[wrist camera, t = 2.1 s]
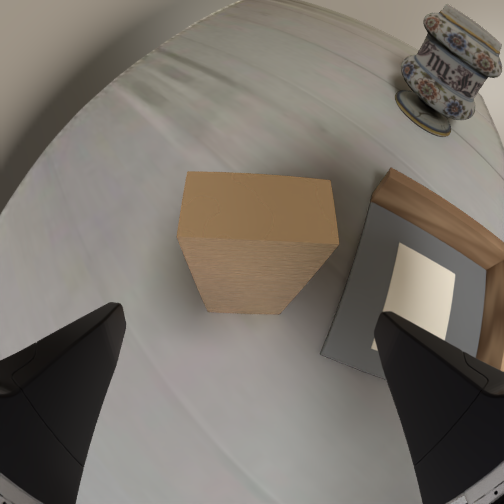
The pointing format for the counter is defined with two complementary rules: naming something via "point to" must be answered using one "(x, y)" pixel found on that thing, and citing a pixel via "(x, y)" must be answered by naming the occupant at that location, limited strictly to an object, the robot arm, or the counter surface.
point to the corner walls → (461, 239)
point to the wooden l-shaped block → (255, 237)
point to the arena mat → (405, 291)
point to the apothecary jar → (448, 71)
